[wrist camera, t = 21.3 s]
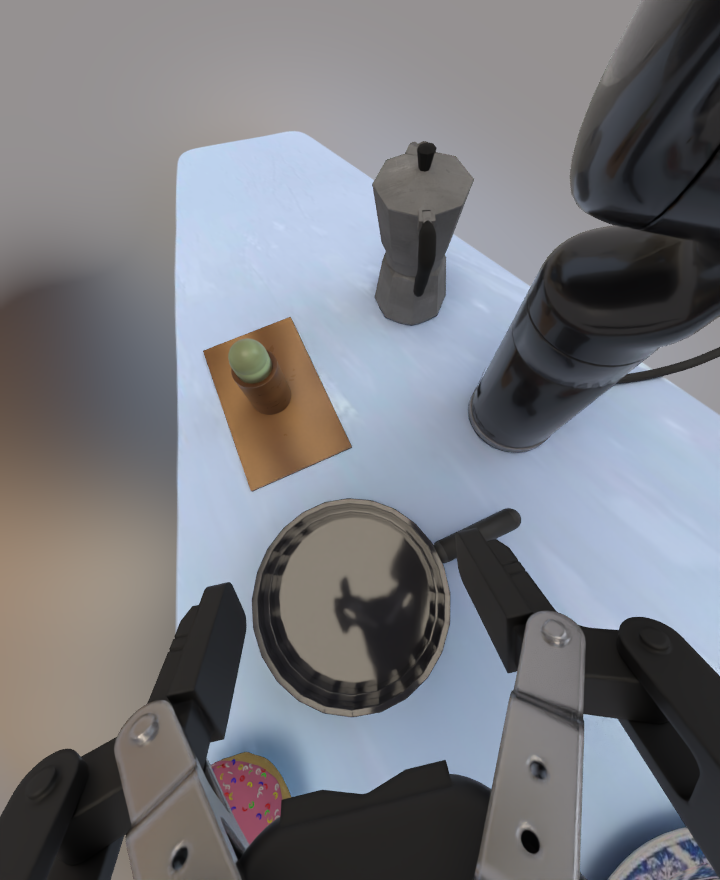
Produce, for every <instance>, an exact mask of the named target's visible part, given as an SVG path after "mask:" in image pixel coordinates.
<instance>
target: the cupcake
mask: <svg viewBox="0 0 720 880" xmlns="http://www.w3.org/2000/svg"><path fill="white" fill-rule="evenodd" d="M211 767H212V769H213V772H214V774H215V776H216V778H217V780H218V782H219V785H220V787H221V789H222V791H223V793H224V795H225V798H226V800H227V802H228V804H229V806H230V808H231V811H232V813H233V815H234V817H235V819H236V821H237V823H238V825H239V827H240V829H241V830H242V832H243V834H244V836H245V837H246V839H247V841H248V843H249V845H250V844H251V843H252V841H253V840H254V839H255V838H256V837H257V836H258V835H259V834H260V833H261V832H262V831H263V830H264V829H265V828H266V827H267V826H268V825H269V824H270V823H272V822H273V821H274V820H275V819H277V818H279V817H280V814H281V800H283V799H287V798H291V795H290V792H289V790H288V788H287V786H286V784H285V782H284V780H283V778H282V776H281V774H280V773H279V771H278V770H277V769H276V767H275V766H274V765H273V764H272V763H271V762H270V761H269V760H267V759H266V758H264V757H261V756H257V755H254V754H252V753H249V752H244V753H240V754H237V755H234V756H232V757H228V758H224V759H222V760H221V761H218V762H215V763H214V764H212V765H211Z"/></svg>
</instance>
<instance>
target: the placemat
mask: <svg viewBox="0 0 720 880" xmlns="http://www.w3.org/2000/svg"><path fill="white" fill-rule="evenodd" d="M247 338H248V339H253V340H256V341H258V342H259V343H261V344H262V345H263V346H264V347H265V349H266V350H268V351H270V352H271V353H272V354H273V355H274V356H275V358H276V360H277V362H278V364H279V366H280V368H281V370H282V372H283V375H284V377H285V379H286V381H287V383H288V385H289V387H290V389H291V400H290V403H289V404H288V406H287V407H286V408H285V409H284V410H283V411H281V412H279V413H277V414H273V415H266V414H262V413H260V412H258V411H257V410H256V409H255V408H254V406H253V405H252V404H251V402H250V401H249V400H248V398H247V397H246V396H245V394H244V393H243V392H242V390H241V389H240V388H239V386H238V385H237V383H236V382H235V381H234V379H233V377H232V374H231V366H230V364H229V359H228V354H229V350H230V348H231V347H232V345H233V344H234V343H235V342H237V341H238V340H241V339H247ZM203 352H204V355H205V358H206V361H207V364H208V367H209V370H210V373H211V376H212V379H213V382H214V384H215V387H216V390H217V393H218V396H219V399H220V402H221V405H222V408H223V411H224V414H225V417H226V420H227V422H228V425H229V428H230V431H231V434H232V437H233V440H234V443H235V446H236V449H237V452H238V455H239V458H240V460H241V463H242V466H243V469H244V472H245V475H246V478H247V481H248V484H249V487H250V490H251V491H254V490H256V489H259V488H261V487H263V486H265V485H268V484H270V483H272V482H274V481H277V480H279V479H281V478H284V477H286V476H288V475H290V474H293V473H295V472H297V471H299V470H302V469H304V468H306V467H309V466H311V465H313V464H315V463H318V462H320V461H322V460H324V459H327V458H329V457H331V456H334V455H336V454H338V453H340V452H343V451H345V450H347V449H350V448H352V446H351V444H350V442H349V440H348V438H347V436H346V434H345V431H344V429H343V427H342V425H341V423H340V421H339V419H338V417H337V414H336V412H335V410H334V408H333V406H332V404H331V402H330V400H329V398H328V395H327V393H326V391H325V389H324V387H323V385H322V383H321V381H320V378H319V376H318V374H317V372H316V370H315V368H314V366H313V364H312V361H311V359H310V357H309V355H308V353H307V351H306V349H305V347H304V345H303V342H302V340H301V338H300V336H299V334H298V332H297V330H296V328H295V325H294V323H293V321H292V319H291V317H289V318H286V319H284V320H281V321H278V322H276V323H273V324H271V325H268V326H266V327H263V328H261V329H258V330H255V331H253V332H250V333H248V334H245V335H243V336H240V337H237V338H235V339H232V340H230V341H227V342H225V343H222V344H219V345H217V346H214V347H212V348H209V349H207V350H204V351H203Z"/></svg>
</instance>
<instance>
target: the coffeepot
mask: <svg viewBox="0 0 720 880" xmlns="http://www.w3.org/2000/svg"><path fill="white" fill-rule="evenodd" d="M473 181H474V179H473V177H472V176H471V175H470V174H469V173H468V171H467V170H466V169H465V167H464V166H463V165H462V164H461V162H460V161H459V160H458V159H457V157H456V156H452V155H447V154H442V153H437V152H436V147H435V145H434V144H432V143H428V142H426V141H425V142H424V141H423V142H421V143H419V144H417V143H416V142H412V143H410V145H409V146H408V149H407V151H406V153H405V154H403V155H400V156H397V157H394V158H391V159H387V160H386V161H385V163H384V165H383V167H382V168H381V170H380V172H379V173H378V175H377V177H376V179H375V180H374V182H373V184H372V186H373V191H374V197H375V203H376V210H377V216H378V222H379V228H380V235H381V241H382V244H383V246H384V248H385V250H386V253H385V255H384V258H383V261H382V265H381V270H380V275H379V279H378V284H377V289H376V293H375V299H376V301H377V303H378V305H379V307H380V309H381V311H382V312H383V314H384V315H385V317H386V318H388V319H390V320H393V321H395V322H398V323H402V324H409V325H415V324H419V323H422V322H425V321H427V320H429V319H431V318H432V317H435V316H437V314H438V312H439V310H440V308H441V305H442V302H443V300H444V298H445V295H446V257H445V253H446V250H447V248H448V246H449V243H450V241H451V238H452V235H453V233H454V230H455V228H456V225H457V222H458V219H459V217H460V214H461V212H462V209H463V206H464V204H465V201H466V199H467V196H468V194H469V191H470V188H471V186H472V184H473Z"/></svg>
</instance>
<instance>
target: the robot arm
mask: <svg viewBox="0 0 720 880" xmlns="http://www.w3.org/2000/svg"><path fill="white" fill-rule="evenodd" d="M570 186H571V193H572V196H573V198H574V200H575V202H576V204H577V205H578V207H579V208H580V209H581V210H583V211H584V212H585V213H587V214H589V215H591V216H593V217H595V218H597V219H599V220H601V221H604V222H606V223H609V224H612V225H614V226H607V227H601V228H596V229H592V230H589V231H585V232H582V233H580V234H577V235H575V236H573V237H571V238H569V239H568V240H566V241H565V242H563V243H562V244H560V245H559V246H558V247H557V248H556V249H555V250H554V251H553V252H552V253H551V254H550V255H549V256H548V257H547V259H546V260H545V262H544V263H543V265H542V267H541V268H540V270H539V272H538V274H537V276H536V278H535V280H534V282H533V284H532V285H531V287H530V289H529V291H528V293H527V295H526V296H525V298H524V300H523V302H522V304H521V306H520V308H519V310H518V312H517V314H516V316H515V318H514V319H513V321H512V323H511V325H510V327H509V329H508V331H507V333H506V334H505V336H504V338H503V340H502V342H501V344H500V346H499V348H498V350H497V351H496V353H495V355H494V357H493V359H492V361H491V363H490V365H489V366H488V368H487V370H486V372H485V374H484V376H483V378H482V379H480V380H481V381H479V382H480V383H478V384H479V385H478V386H477V388H476V389H475V391H474V393H473V395H472V396H471V399H470V402H469V407H468V413H469V419H470V422H471V425H472V427H473V429H474V430H475V432H476V433H477V434H478V435H479V437H480V438H481V439H482V440H484V441H485V442H486V443H488V444H489V445H491V446H492V447H495V448H497V449H499V450H503V451H507V452H525V451H529V450H532V449H534V448H536V447H538V446H539V445H541V444H542V443H543V442H545V441H546V440H547V439H548V438H549V437H550V436H551V435H552V434H553V433H554V432H556V431H557V430H558V429H560V428H561V427H562V426H563V425H565V424H566V423H567V422H568V421H570V420H571V419H572V418H573V417H575V416H576V415H577V414H578V413H580V412H581V411H582V410H583V409H585V408H586V407H587V406H588V405H589V404H591V403H592V402H593V401H594V400H596V399H597V398H598V397H599V396H601V395H602V394H603V393H604V392H606V391H607V390H608V389H609V388H611V387H612V386H613V385H614V384H617V383H628V382H635V381H641V380H647V379H652V378H656V377H660V376H664V375H668V374H672V373H676V372H679V371H683V370H686V369H689V368H692V367H695V366H698V365H700V364H703V363H706V362H708V361H710V360H712V359H715V358H717V357H720V347H719V348H717V349H714V350H712V351H709V352H707V353H705V354H702V355H700V356H697V357H695V358H692V359H689V360H686V361H683V362H680V363H676V364H673V365H669V366H665V367H661V368H657V369H653V370H648V371H643V372H638V373H631V374H628V373H629V372H630V371H631V370H633V369H634V368H635V367H636V366H638V365H639V364H640V363H641V362H643V361H644V360H645V359H646V358H648V357H649V356H650V355H651V354H652V353H654V352H655V351H656V350H658V349H659V348H660V347H663V346H667V345H671V344H674V343H676V342H678V341H681V340H683V339H686V338H688V337H690V336H691V335H693V334H695V333H696V332H698V331H699V330H701V329H702V328H704V327H705V326H707V325H708V324H710V323H711V322H712V321H714V320H715V319H717V318H718V317H720V0H642V1H641V3H640V4H639V6H638V8H637V10H636V12H635V14H634V15H633V17H632V19H631V21H630V23H629V25H628V27H627V29H626V30H625V32H624V34H623V36H622V38H621V40H620V41H619V43H618V45H617V47H616V49H615V51H614V53H613V55H612V57H611V59H610V61H609V63H608V65H607V68H606V69H605V72H604V74H603V76H602V78H601V80H600V82H599V84H598V86H597V88H596V90H595V93H594V95H593V97H592V100H591V102H590V104H589V107H588V110H587V112H586V114H585V117H584V120H583V122H582V125H581V128H580V130H579V134H578V137H577V141H576V145H575V148H574V152H573V156H572V162H571V169H570ZM485 369H486V368H485ZM484 371H485V370H484ZM483 373H484V372H483ZM455 539H456V551H457V562H458V569H459V573H460V576H461V579H462V581H463V584H464V586H465V588H466V590H467V592H468V594H469V596H470V598H471V600H472V602H473V604H474V606H475V608H476V610H477V612H478V614H479V616H480V618H481V620H482V622H483V624H484V626H485V628H486V630H487V632H488V634H489V636H490V638H491V640H492V642H493V644H494V646H495V648H496V650H497V652H498V654H499V656H500V658H501V660H502V662H503V665H504V667H505V669H506V671H507V673H512V672H516V671H517V676H516V681H515V686H514V690H513V691H512V692H511V694H510V698H509V702H508V707H507V713H506V718H505V723H504V728H503V733H502V738H501V743H500V749H499V754H498V759H497V764H496V769H495V774H494V779H493V785H492V789H490V788H488V787H487V786H485V785H483V784H482V783H480V782H478V781H476V780H473V779H471V778H468V777H465V776H461V775H456V774H449V771H448V767H447V763H446V760H443V761H439V762H435V763H431V764H427V765H423V766H418V767H414V768H410V769H406V770H404V771H403V772H401V773H399V774H398V775H396V776H395V777H393V778H391V779H390V780H388V781H387V782H385V783H383V784H382V785H380V786H379V787H377V788H375V789H374V790H372V791H371V792H369V793H366V794H355V793H346V792H337V791H328V790H320V791H316V792H311V793H307V794H303V795H299V796H295V797H291V798H287V799H283V800H281V814H280V817H279V818H277V819H275V820H274V821H273V822H272V823H270V824H269V825H268V826H267V827H266V828H265V829H264V830H263V831H262V832H261V833H260V834H259V835H258V836H257V837H256V838H255V839H254V840H253V841H252V843H251V844H250V845H249V843H248V841H247V839H246V837H245V836H244V834H243V832H242V830H241V829H240V827H239V825H238V823H237V821H236V819H235V817H234V815H233V813H232V811H231V808H230V806H229V804H228V802H227V800H226V798H225V795H224V793H223V791H222V789H221V787H220V785H219V782H218V780H217V778H216V776H215V774H214V772H213V769H212V767H211V765H210V763H209V761H208V759H207V758H206V757H207V753H208V749H209V744H210V742H214V741H218V740H223V739H224V738H225V733H226V728H227V723H228V718H229V713H230V708H231V703H232V698H233V693H234V688H235V683H236V678H237V673H238V668H239V663H240V659H241V654H242V649H243V644H244V639H245V634H246V616H245V613H244V610H243V608H242V606H241V603H240V601H239V599H238V597H237V595H236V592H235V590H234V588H233V586H232V584H231V583H230V582H227V583H223V584H218V585H214V586H209V587H207V588H206V589H205V590H204V593H203V596H202V598H201V601H200V604H199V605H197V606H192V607H191V609H190V610H189V611H188V612H187V614H186V615H185V616H184V618H183V619H182V620H181V622H180V624H179V627H178V629H177V632H176V634H175V639H173V642H172V644H171V647H170V652H168V654H167V656H166V659H165V662H164V664H163V666H162V669H161V671H160V674H159V676H158V679H157V681H156V684H155V686H154V689H153V691H152V694H151V696H150V699H149V701H148V703H147V704H146V705H144V706H143V707H141V708H140V709H139V710H137V711H136V712H135V713H134V714H133V715H132V716H131V717H130V718H129V719H128V720H127V721H126V723H125V724H124V726H123V727H122V728H121V730H120V732H119V734H118V736H117V737H116V738H114V739H112V740H111V741H109V742H107V743H105V744H103V745H101V746H100V747H98V748H96V749H95V750H92V751H91V752H89V753H87V754H85V755H83V756H82V757H80V756H79V754H78V753H77V752H76V751H74V750H72V749H63V750H59V751H57V752H55V753H53V754H51V755H49V756H48V757H46V758H45V759H43V760H42V761H41V762H39V763H38V764H37V765H36V766H35V767H34V768H33V769H32V770H31V771H30V772H29V773H28V774H27V775H26V776H25V777H24V779H23V780H22V781H21V782H20V784H19V785H18V787H17V788H16V790H15V791H14V793H13V795H12V796H11V798H10V800H9V802H8V804H7V806H6V807H5V809H4V811H3V813H2V815H1V817H0V880H111V876H112V873H113V870H114V867H115V863H116V860H117V857H118V854H119V851H120V847H121V844H122V841H123V837H124V835H126V845H127V851H128V855H129V860H130V865H131V869H132V873H133V878H134V880H587V879H586V878H585V877H584V876H583V875H582V874H581V873H580V844H581V813H582V783H583V752H584V720H583V714H588V715H595V716H603V717H610V718H617V719H618V720H619V721H620V723H621V725H622V726H623V728H624V729H625V731H626V732H627V734H628V736H629V737H630V739H631V740H632V742H633V743H634V745H635V747H636V748H637V750H638V751H639V753H640V754H641V756H642V758H643V759H644V761H645V762H646V764H647V765H648V767H649V769H650V770H651V772H652V773H653V775H654V776H655V778H656V780H657V781H658V783H659V784H660V786H661V788H662V789H663V791H664V792H665V794H666V795H667V797H668V799H669V800H670V802H671V803H672V805H673V806H674V808H675V810H676V811H677V813H678V814H679V816H680V817H681V819H682V821H683V822H684V824H685V825H686V827H687V828H688V830H689V832H690V833H691V835H692V836H693V838H694V839H695V841H696V843H697V844H698V846H699V847H700V849H701V850H702V852H703V854H704V855H705V857H706V858H707V860H708V861H709V863H710V865H711V866H712V868H713V869H714V871H715V872H716V874H717V876H718V877H719V879H720V676H719V675H718V674H717V673H716V672H715V671H714V670H713V669H712V668H711V667H710V665H709V664H708V663H707V662H706V661H705V660H704V659H703V658H702V657H701V656H700V655H699V654H698V653H697V652H696V651H695V650H694V649H693V648H692V647H691V646H690V645H689V644H688V643H687V642H686V641H685V640H684V638H683V637H682V636H681V635H679V634H678V633H677V632H676V631H675V630H673V629H672V628H670V627H669V626H667V625H665V624H663V623H661V622H659V621H656V620H653V619H650V618H645V617H632V618H628V619H626V620H625V621H623V622H622V624H621V625H620V628H619V630H609V629H597V628H588V627H583V626H580V625H577V624H576V623H575V622H574V621H573V620H572V619H570V618H569V617H567V616H565V615H563V614H561V613H558V612H557V611H556V610H555V609H554V608H553V607H552V605H551V604H550V603H549V601H548V600H547V599H546V597H545V596H544V594H543V593H542V592H541V590H540V589H539V588H538V586H537V585H536V584H535V582H534V581H533V580H532V578H531V577H530V575H529V574H528V573H527V572H526V571H525V569H524V567H523V566H522V565H521V563H520V562H518V559H517V558H516V556H515V555H514V554H513V552H512V551H511V550H510V548H509V547H507V546H506V545H504V544H503V543H501V542H500V541H498V540H497V539H494V540H489V541H486V540H485V538H484V537H483V535H482V534H481V532H480V531H479V529H478V528H472V529H468V530H463V531H459V532H456V533H455Z"/></svg>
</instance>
